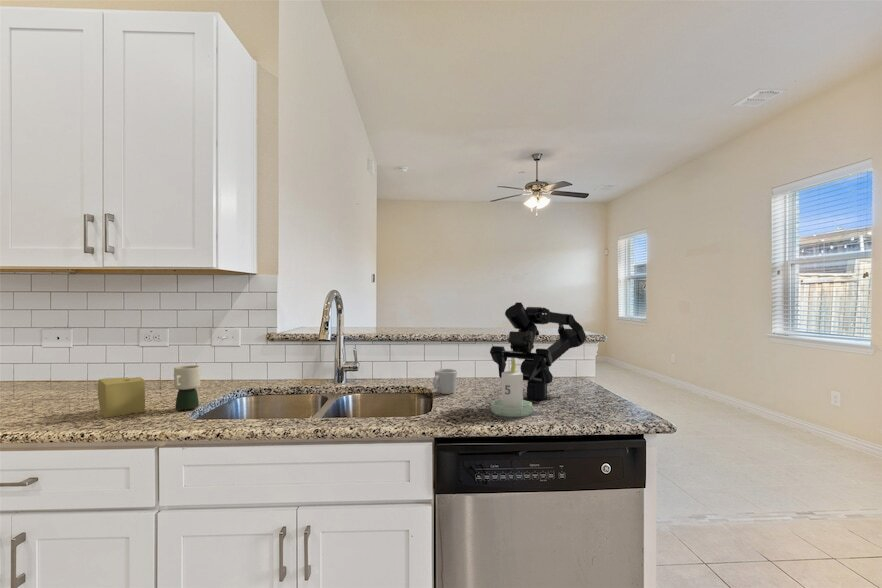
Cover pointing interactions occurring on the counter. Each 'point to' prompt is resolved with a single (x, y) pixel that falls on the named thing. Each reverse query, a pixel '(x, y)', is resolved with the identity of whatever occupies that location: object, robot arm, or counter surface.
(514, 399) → the candle
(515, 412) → the dish
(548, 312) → the robot arm
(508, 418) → the mat
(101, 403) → the cheese
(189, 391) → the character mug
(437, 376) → the cup
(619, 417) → the counter surface
